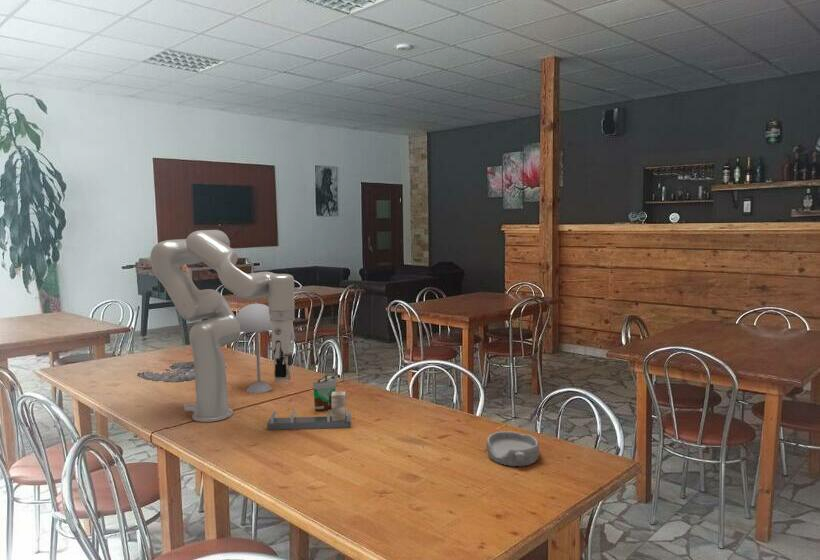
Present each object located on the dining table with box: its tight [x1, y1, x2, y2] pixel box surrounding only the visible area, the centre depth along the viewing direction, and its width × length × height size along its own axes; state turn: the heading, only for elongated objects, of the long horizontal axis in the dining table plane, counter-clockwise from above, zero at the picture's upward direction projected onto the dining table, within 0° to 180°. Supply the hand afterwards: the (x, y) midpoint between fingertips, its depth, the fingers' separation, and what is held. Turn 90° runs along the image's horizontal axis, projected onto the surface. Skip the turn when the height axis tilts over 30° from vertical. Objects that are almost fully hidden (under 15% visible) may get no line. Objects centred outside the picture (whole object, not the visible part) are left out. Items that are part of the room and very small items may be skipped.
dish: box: [486, 430, 540, 467], centre depth 158 cm, size 14×14×5 cm
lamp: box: [235, 301, 273, 394], centre depth 222 cm, size 17×17×33 cm
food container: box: [312, 373, 338, 412], centre depth 201 cm, size 12×6×10 cm, turn 168°
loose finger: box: [273, 352, 293, 383], centre depth 181 cm, size 4×5×8 cm
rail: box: [266, 409, 352, 431], centre depth 183 cm, size 25×5×4 cm, turn 92°
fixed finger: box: [329, 390, 347, 421], centre depth 183 cm, size 5×4×8 cm
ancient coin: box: [137, 361, 195, 383], centre depth 253 cm, size 33×35×1 cm
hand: (282, 374), depth 181 cm, fingers closed on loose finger, 4 cm apart
